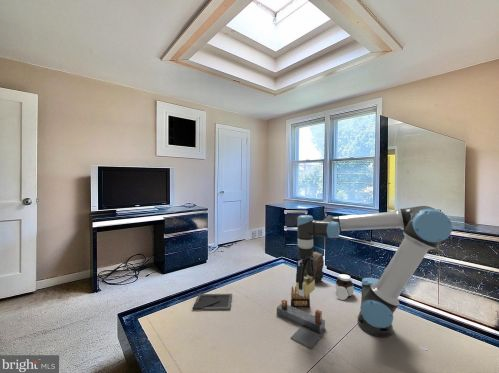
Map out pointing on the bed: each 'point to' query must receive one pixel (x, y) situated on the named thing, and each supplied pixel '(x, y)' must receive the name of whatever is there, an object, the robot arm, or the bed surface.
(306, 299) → the ammunition clip
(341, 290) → the spread jar
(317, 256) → the brown rock
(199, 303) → the picture frame
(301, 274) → the robot arm
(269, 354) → the bed surface
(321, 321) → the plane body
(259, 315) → the bed surface
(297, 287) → the lever cap
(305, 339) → the felt mat
